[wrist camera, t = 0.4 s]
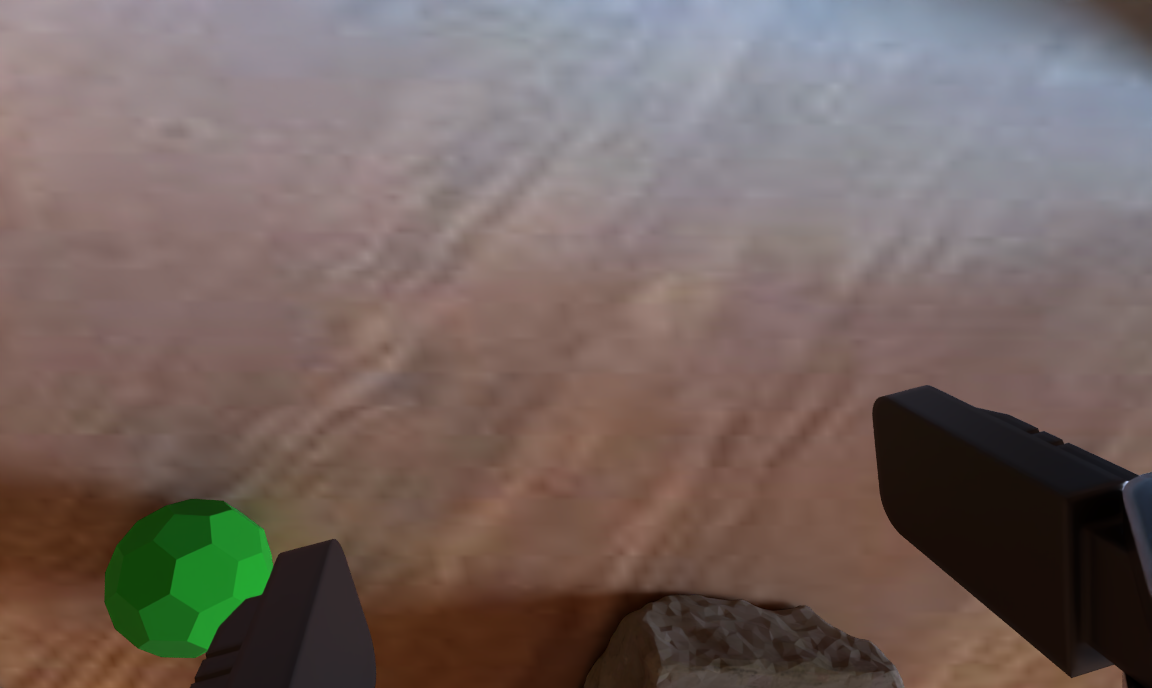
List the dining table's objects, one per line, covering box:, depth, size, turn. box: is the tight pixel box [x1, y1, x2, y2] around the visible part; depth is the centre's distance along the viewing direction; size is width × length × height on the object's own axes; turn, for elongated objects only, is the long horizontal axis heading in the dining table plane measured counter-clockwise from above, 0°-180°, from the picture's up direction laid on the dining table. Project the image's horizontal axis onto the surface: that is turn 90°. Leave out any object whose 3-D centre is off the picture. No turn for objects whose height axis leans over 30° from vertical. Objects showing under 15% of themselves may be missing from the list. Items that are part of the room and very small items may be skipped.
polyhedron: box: [104, 499, 273, 658], centre depth 25 cm, size 5×5×5 cm
